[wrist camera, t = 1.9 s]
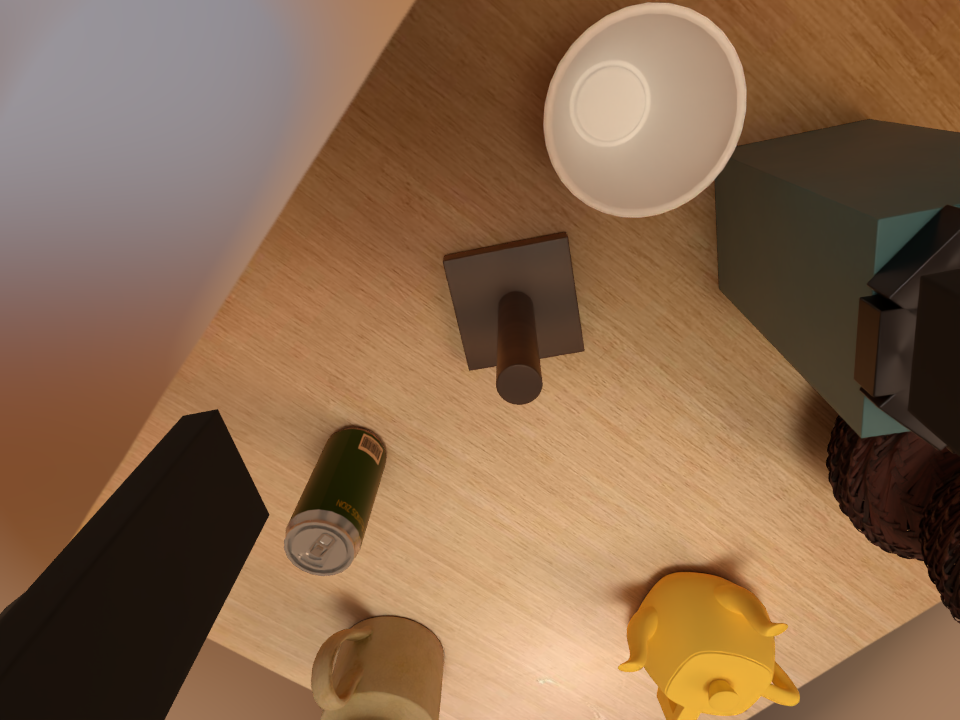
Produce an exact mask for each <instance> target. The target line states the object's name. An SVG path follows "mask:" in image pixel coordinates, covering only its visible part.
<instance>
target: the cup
mask: <svg viewBox="0 0 960 720" xmlns="http://www.w3.org/2000/svg"><path fill="white" fill-rule="evenodd" d="M746 90H747V88H746V83H745V77H744V72H743V67H742V65H741V62H740V60H739V57H738V55H737V52H736V50H735V48H734V46H733V45H732V44H731V42H730V41H729V39H728V38H727V36H726V35H725V34H724V32H723V31H722V30H721V29H720V28H719V27H717V26H716V25H715V24H714V23H713V22H712V21H711V20H710V19H709V18H707V17H705V16H703V15H702V14H700V13H698V12H696V11H694V10H692V9H690V8H687V7H683V6H679V5H676V4H672V3H650V2H648V3H643V4H638V5H633V6H628V7H625V8H623V9H620V10H618V11H616V12H613V13H611V14H609V15H606V16H605V17H603V18H602V19H601V20H599V21H598V22H596V23H595V24H593V25H592V26H590V27H589V28H588V29H587V30H586V31H585V32H584V33H583V34H582V35H581V36H580V37H579V38H578V39H577V40H576V41H575V42H574V43H573V44H572V45H571V46H570V48H569V49H568V51H567V52H566V54H565V55H564V57H563V58H562V59H561V61H560V62H559V64H558V66H557V69H556V71H555V73H554V75H553V78H552V80H551V82H550V85H549V89H548V93H547V97H546V101H545V106H544V122H543V128H544V136H545V144H546V148H547V151H548V154H549V157H550V161H551V164H552V166H553V167H554V169H555V171H556V173H557V175H558V176H559V178H560V180H561V181H562V183H563V184H564V185H565V186H566V187H567V188H568V189H569V191H570V192H571V193H572V194H573V195H574V196H576V197H577V198H578V199H580V200H581V201H582V202H584V203H585V204H586V205H588V206H590V207H592V208H594V209H596V210H598V211H600V212H603V213H606V214H610V215H614V216H618V217H631V218H641V217H648V216H654V215H659V214H662V213H665V212H667V211H670V210H673V209H676V208H678V207H679V206H681V205H683V204H685V203H686V202H688V201H690V200H692V199H693V198H695V197H696V196H697V195H698V194H699V193H701V192H702V191H703V190H704V189H705V188H707V187H708V186H709V185H710V184H711V183H712V182H713V181H714V179H715V178H716V177H717V176H718V175H719V174H720V172H721V171H722V170H723V169H724V167H725V165H726V164H727V162H728V160H729V159H730V157H731V155H732V154H733V152H734V150H735V148H736V145H737V142H738V140H739V137H740V135H741V132H742V128H743V123H744V118H745V113H746Z"/></svg>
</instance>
